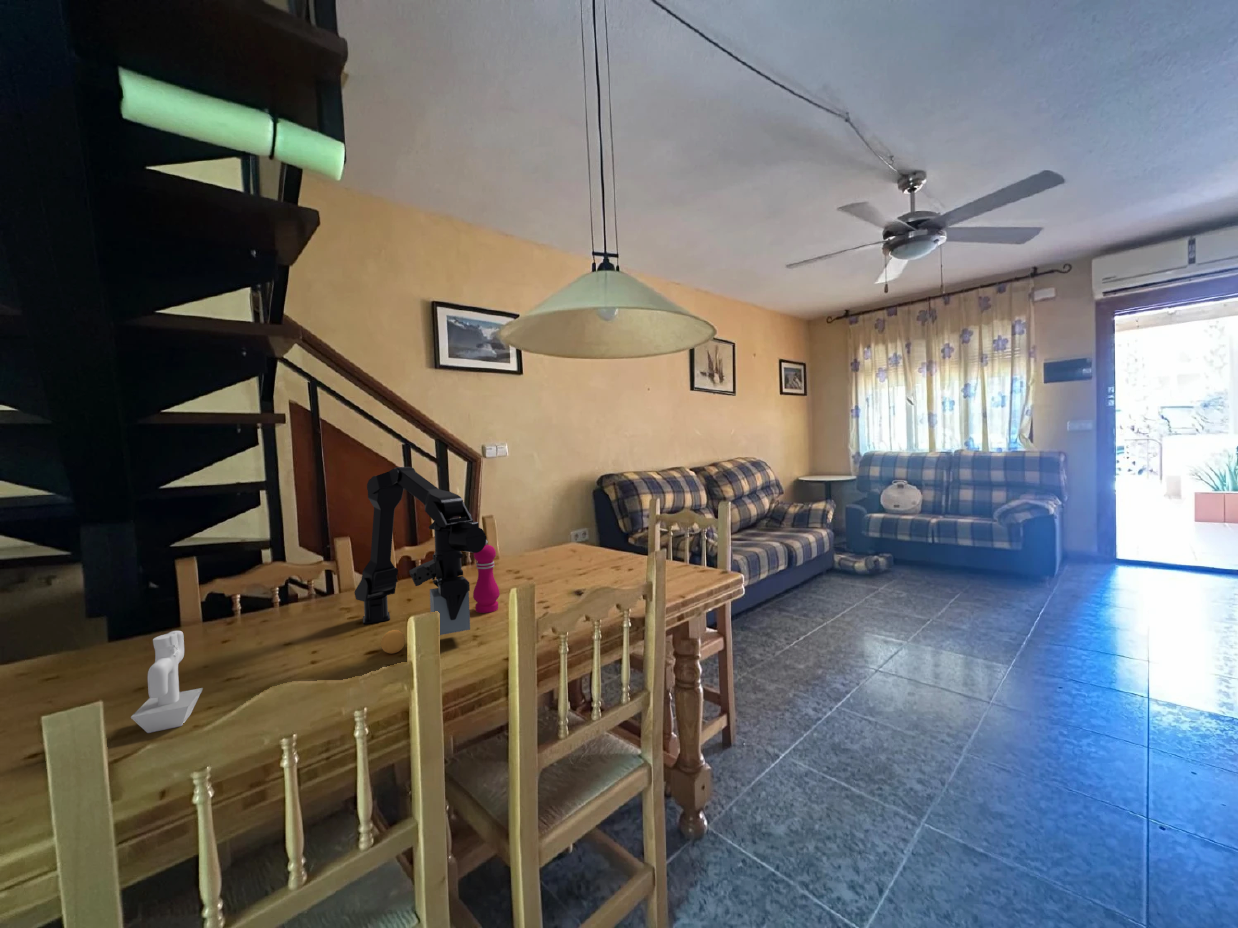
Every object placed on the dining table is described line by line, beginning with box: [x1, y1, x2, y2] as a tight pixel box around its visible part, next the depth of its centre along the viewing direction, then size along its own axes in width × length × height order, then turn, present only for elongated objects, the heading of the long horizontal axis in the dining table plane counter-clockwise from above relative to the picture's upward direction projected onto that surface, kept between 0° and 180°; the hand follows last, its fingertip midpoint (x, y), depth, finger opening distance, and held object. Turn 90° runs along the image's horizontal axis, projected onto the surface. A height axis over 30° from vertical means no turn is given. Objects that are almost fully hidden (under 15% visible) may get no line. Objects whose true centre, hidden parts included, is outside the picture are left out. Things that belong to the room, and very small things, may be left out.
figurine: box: [130, 630, 204, 734], centre depth 83 cm, size 7×9×15 cm
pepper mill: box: [472, 539, 500, 614], centre depth 140 cm, size 7×7×20 cm
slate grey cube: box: [429, 587, 471, 636], centre depth 116 cm, size 8×8×9 cm
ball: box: [380, 629, 406, 654], centre depth 111 cm, size 5×5×5 cm
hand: (450, 614), depth 117 cm, fingers closed on slate grey cube, 8 cm apart
